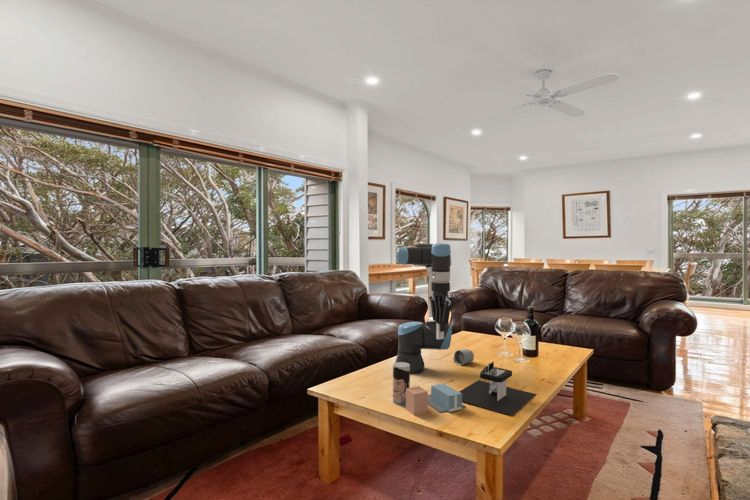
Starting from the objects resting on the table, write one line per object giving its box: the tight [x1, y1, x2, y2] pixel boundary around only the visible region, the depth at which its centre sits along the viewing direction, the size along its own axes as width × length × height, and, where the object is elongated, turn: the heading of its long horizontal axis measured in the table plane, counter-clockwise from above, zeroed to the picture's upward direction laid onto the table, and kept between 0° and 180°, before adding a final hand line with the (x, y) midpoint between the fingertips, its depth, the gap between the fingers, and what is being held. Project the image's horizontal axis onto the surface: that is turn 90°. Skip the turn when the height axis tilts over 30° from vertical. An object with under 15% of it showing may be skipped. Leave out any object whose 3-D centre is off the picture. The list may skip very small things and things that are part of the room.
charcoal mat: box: [428, 393, 467, 414], centre depth 162 cm, size 16×12×1 cm
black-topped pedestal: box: [458, 360, 537, 416], centre depth 168 cm, size 28×26×13 cm
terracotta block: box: [405, 386, 429, 416], centre depth 154 cm, size 6×6×8 cm
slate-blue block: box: [430, 383, 463, 413], centre depth 158 cm, size 6×6×12 cm
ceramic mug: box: [452, 348, 475, 366], centre depth 214 cm, size 11×8×8 cm
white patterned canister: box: [392, 362, 411, 406], centre depth 162 cm, size 7×7×15 cm
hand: (440, 338), depth 165 cm, fingers closed
